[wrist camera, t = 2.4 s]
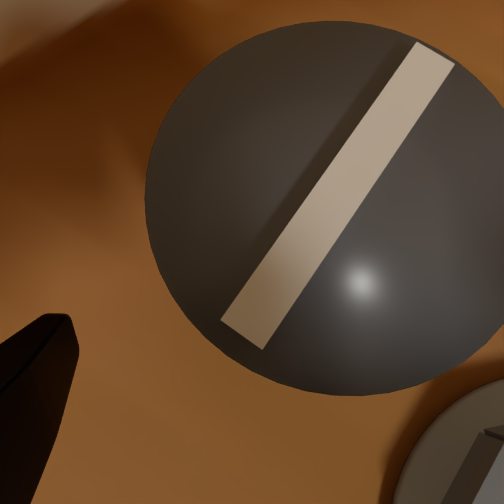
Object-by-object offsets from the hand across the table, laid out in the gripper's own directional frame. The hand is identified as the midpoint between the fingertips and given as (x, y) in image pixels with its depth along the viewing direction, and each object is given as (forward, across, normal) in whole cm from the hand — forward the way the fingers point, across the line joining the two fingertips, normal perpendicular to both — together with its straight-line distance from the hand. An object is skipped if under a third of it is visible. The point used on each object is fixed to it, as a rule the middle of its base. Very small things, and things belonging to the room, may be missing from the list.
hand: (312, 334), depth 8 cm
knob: (+8, 0, +5) cm, 9 cm away
